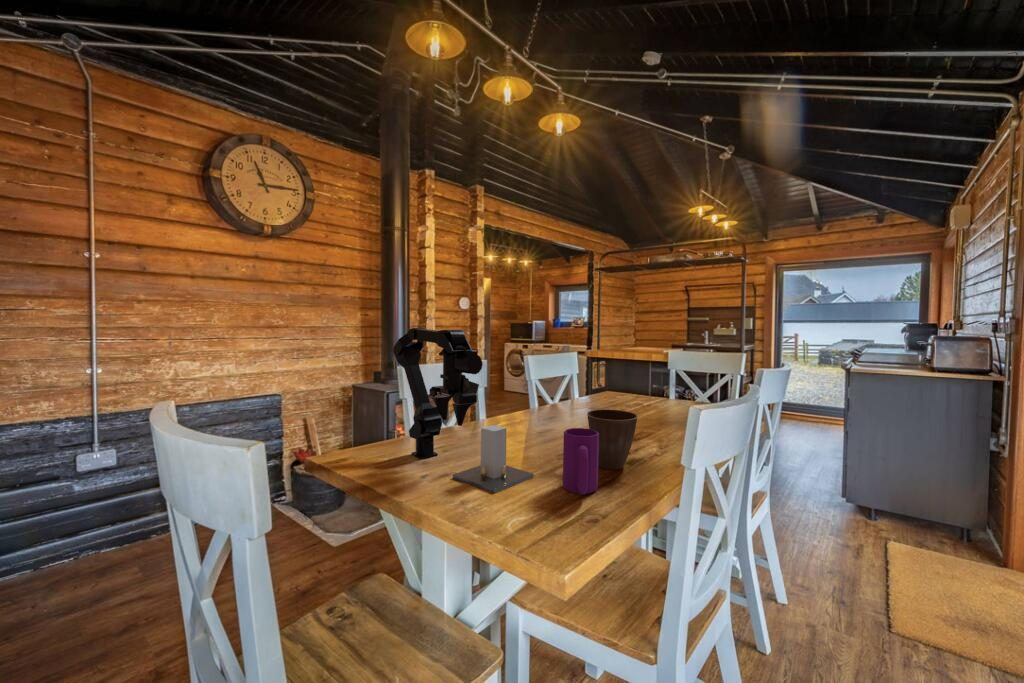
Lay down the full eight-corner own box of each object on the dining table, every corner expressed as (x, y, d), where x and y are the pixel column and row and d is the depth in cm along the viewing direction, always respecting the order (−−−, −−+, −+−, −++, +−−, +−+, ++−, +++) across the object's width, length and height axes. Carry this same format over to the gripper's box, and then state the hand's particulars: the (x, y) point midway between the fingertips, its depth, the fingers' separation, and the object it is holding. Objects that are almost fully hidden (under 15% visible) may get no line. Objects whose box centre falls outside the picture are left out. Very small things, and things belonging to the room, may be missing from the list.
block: (480, 474, 122) (481, 428, 121) (492, 469, 125) (493, 425, 125) (493, 478, 118) (494, 431, 118) (505, 473, 122) (506, 428, 122)
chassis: (452, 478, 121) (452, 463, 121) (492, 464, 133) (492, 450, 133) (494, 493, 111) (494, 477, 110) (533, 477, 123) (533, 462, 123)
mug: (595, 482, 119) (596, 428, 119) (603, 506, 104) (604, 444, 103) (562, 481, 120) (563, 427, 119) (564, 504, 105) (565, 442, 104)
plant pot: (634, 477, 124) (635, 421, 123) (582, 470, 129) (583, 417, 128) (637, 461, 138) (639, 411, 137) (590, 456, 143) (591, 408, 142)
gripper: (492, 372, 128) (491, 425, 129) (459, 367, 143) (459, 414, 144) (460, 375, 121) (459, 430, 122) (428, 369, 136) (428, 418, 137)
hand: (452, 422), depth 131 cm, fingers open, 9 cm apart
